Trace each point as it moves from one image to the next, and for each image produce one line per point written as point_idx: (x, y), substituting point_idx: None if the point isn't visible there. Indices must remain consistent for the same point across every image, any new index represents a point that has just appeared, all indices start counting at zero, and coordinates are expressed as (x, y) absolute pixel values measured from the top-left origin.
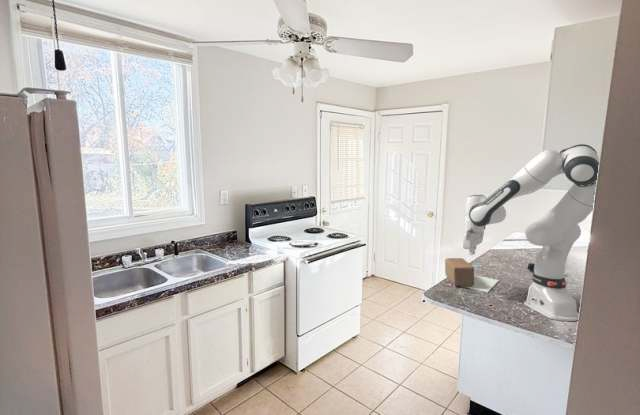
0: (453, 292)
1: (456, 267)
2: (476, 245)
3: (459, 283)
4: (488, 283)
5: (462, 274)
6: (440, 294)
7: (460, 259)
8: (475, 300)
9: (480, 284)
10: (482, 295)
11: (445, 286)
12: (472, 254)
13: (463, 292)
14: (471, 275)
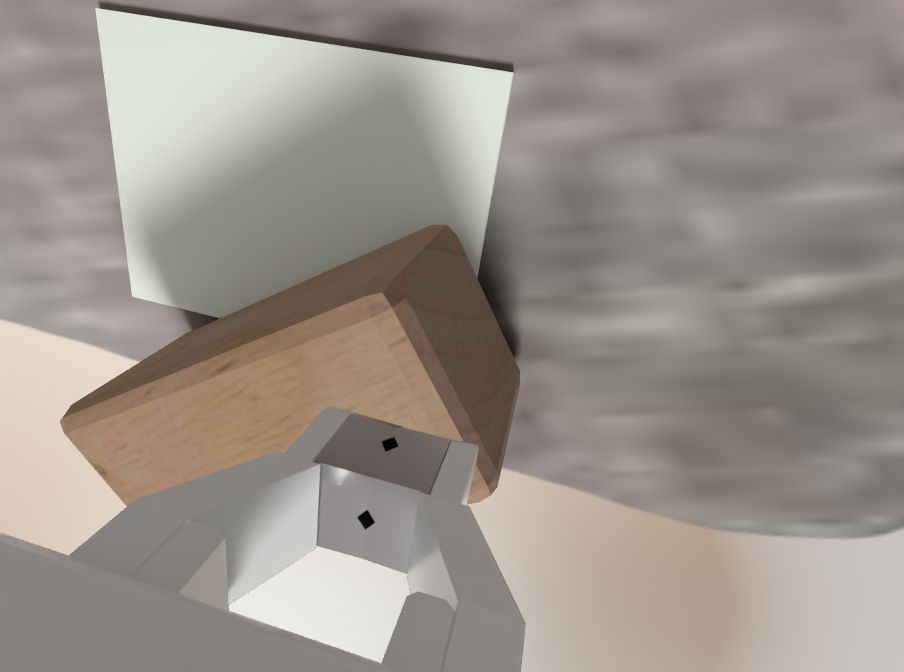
0: (668, 370)
1: (478, 482)
2: (241, 630)
3: (506, 352)
4: (259, 97)
5: (479, 374)
6: (771, 461)
7: (125, 443)
8: (824, 163)
9: (335, 168)
10: (629, 113)
11: (542, 435)
12: (471, 464)
13: (626, 292)
14: (438, 278)
